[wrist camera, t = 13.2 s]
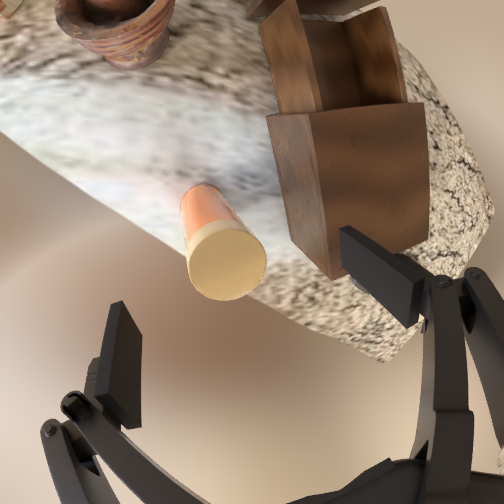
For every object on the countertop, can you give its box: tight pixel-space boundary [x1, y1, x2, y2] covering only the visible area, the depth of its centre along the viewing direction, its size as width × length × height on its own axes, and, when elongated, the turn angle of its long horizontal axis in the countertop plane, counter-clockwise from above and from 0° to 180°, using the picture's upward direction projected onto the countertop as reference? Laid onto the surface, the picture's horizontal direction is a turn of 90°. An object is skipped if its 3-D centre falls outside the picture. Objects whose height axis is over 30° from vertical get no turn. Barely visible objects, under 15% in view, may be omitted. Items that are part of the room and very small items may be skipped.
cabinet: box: [266, 102, 430, 281], centre depth 29 cm, size 16×14×11 cm
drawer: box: [247, 0, 408, 115], centre depth 22 cm, size 19×12×9 cm, turn 13°
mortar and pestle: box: [55, 0, 175, 69], centre depth 13 cm, size 12×9×20 cm
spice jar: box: [181, 185, 266, 300], centre depth 25 cm, size 5×5×15 cm
